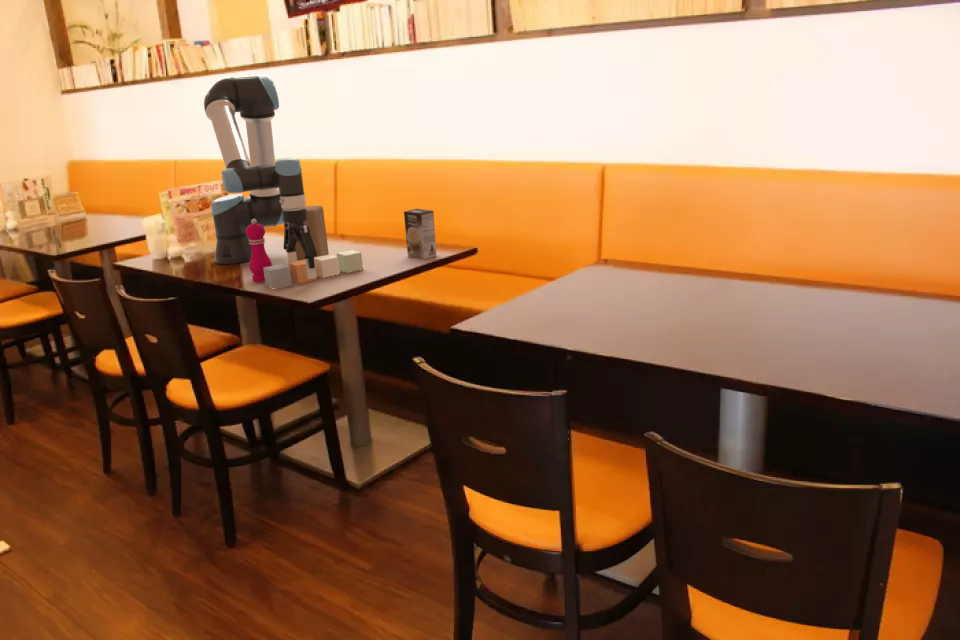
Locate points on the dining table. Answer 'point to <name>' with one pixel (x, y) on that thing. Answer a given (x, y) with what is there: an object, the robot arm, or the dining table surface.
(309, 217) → the wooden block
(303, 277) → the orange cube
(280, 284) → the grey cube
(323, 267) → the cream cube
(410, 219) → the coffee box
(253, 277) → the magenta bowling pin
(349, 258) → the sage cube
